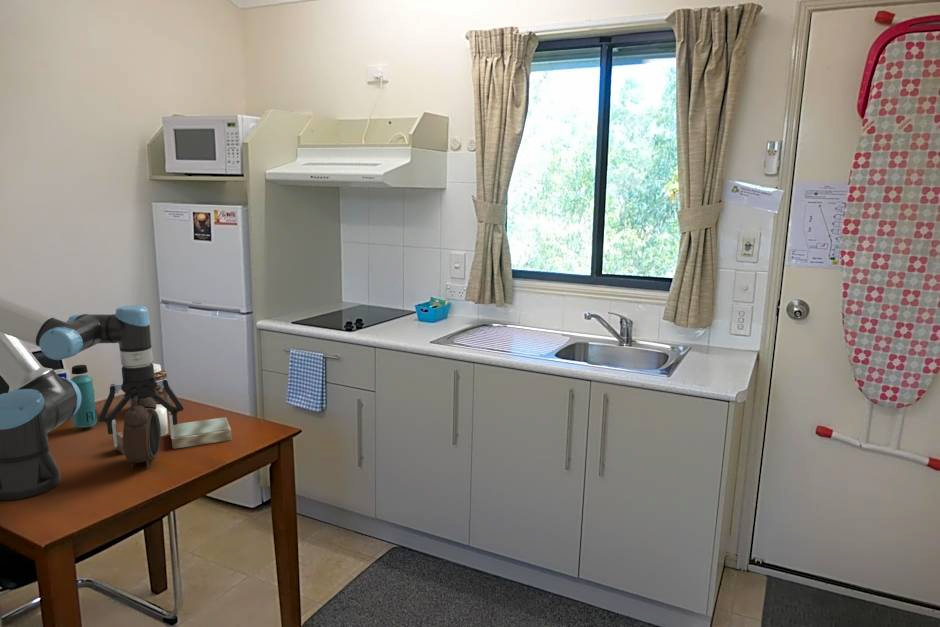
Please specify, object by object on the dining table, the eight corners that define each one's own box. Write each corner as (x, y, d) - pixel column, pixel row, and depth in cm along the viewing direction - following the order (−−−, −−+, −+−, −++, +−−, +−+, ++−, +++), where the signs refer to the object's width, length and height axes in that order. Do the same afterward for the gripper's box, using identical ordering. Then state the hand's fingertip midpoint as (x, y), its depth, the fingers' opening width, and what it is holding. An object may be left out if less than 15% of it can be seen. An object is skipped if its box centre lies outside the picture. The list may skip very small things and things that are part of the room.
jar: (164, 402, 224) (161, 360, 222) (173, 411, 216) (170, 368, 213) (126, 408, 217) (123, 365, 214) (134, 418, 208) (130, 374, 205)
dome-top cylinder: (142, 439, 192) (140, 413, 191) (142, 431, 198) (140, 406, 197) (168, 435, 195) (166, 410, 194) (167, 427, 201) (165, 403, 200)
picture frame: (172, 448, 185) (171, 438, 185) (170, 434, 196) (169, 424, 195) (231, 439, 193) (231, 429, 192) (226, 426, 203) (226, 416, 202)
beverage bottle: (87, 433, 196) (80, 369, 192) (68, 431, 197) (61, 368, 193) (103, 425, 202) (97, 363, 198) (84, 423, 203) (77, 362, 199)
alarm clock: (153, 473, 170) (147, 400, 166) (123, 475, 168) (116, 401, 165) (166, 451, 184) (160, 383, 180) (138, 453, 182) (132, 384, 178)
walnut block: (123, 454, 181) (121, 437, 180) (116, 449, 185) (115, 432, 184) (142, 449, 185) (140, 432, 184) (135, 444, 188) (133, 428, 187)
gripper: (81, 373, 162) (90, 453, 166) (189, 362, 173) (195, 437, 177) (83, 366, 169) (92, 443, 173) (187, 355, 180) (193, 428, 184)
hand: (144, 440), depth 175 cm, fingers open, 13 cm apart
